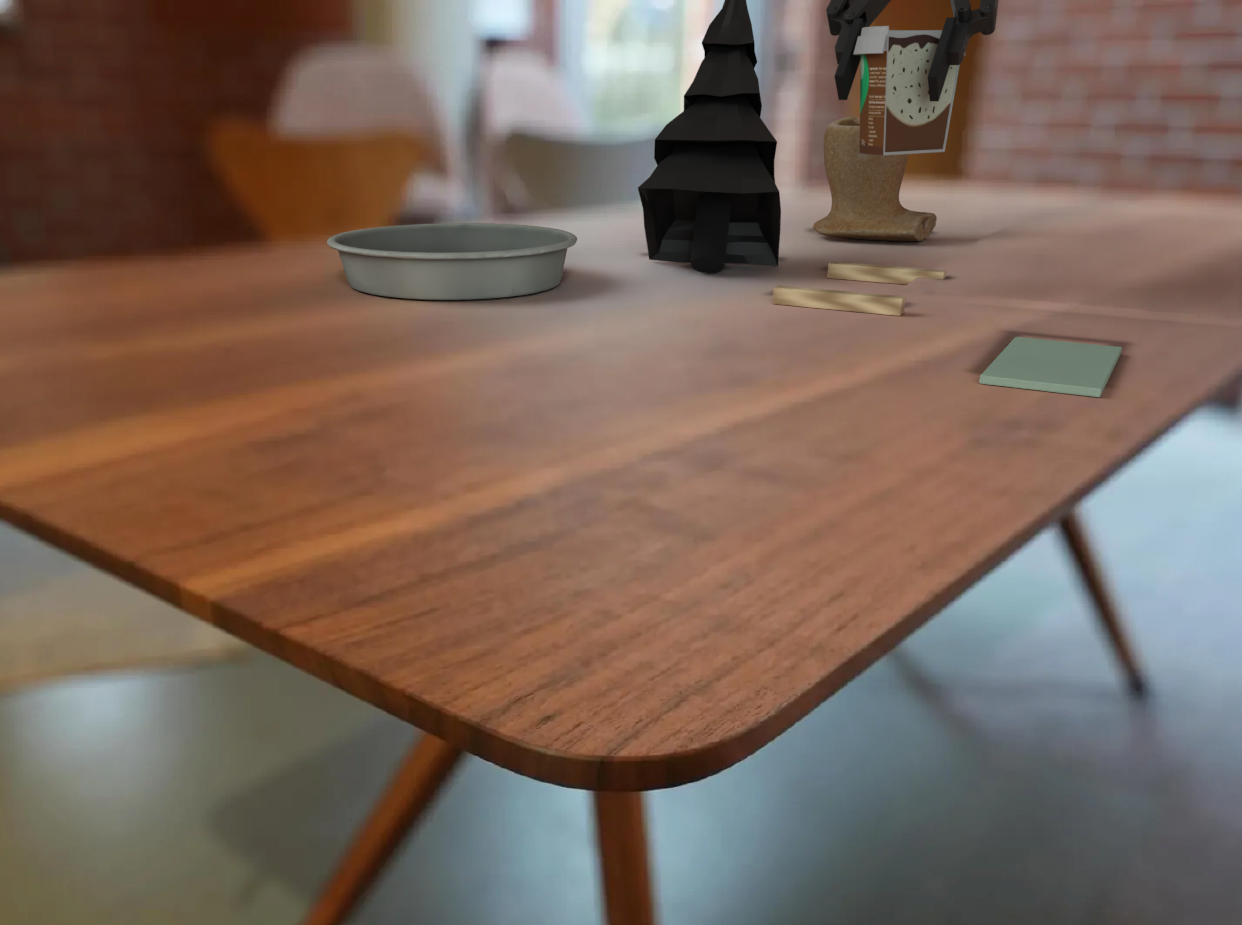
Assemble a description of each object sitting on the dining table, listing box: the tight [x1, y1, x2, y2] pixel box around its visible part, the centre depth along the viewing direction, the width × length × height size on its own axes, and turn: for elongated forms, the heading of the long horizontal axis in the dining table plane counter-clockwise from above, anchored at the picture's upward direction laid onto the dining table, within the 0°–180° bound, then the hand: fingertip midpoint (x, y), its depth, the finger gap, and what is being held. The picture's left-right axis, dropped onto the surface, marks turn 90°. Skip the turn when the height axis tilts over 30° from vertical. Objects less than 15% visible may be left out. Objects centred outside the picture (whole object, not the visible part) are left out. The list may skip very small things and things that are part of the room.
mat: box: [978, 336, 1123, 398], centre depth 86 cm, size 8×15×1 cm, turn 153°
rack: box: [772, 261, 948, 317], centre depth 114 cm, size 12×19×2 cm, turn 153°
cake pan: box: [326, 222, 578, 301], centre depth 117 cm, size 25×25×4 cm
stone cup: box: [812, 116, 938, 242], centre depth 147 cm, size 15×12×15 cm
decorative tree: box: [637, 0, 782, 274], centre depth 126 cm, size 15×15×35 cm
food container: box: [853, 25, 967, 155], centre depth 104 cm, size 12×6×10 cm, turn 132°
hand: (886, 88), depth 101 cm, fingers closed on food container, 7 cm apart
